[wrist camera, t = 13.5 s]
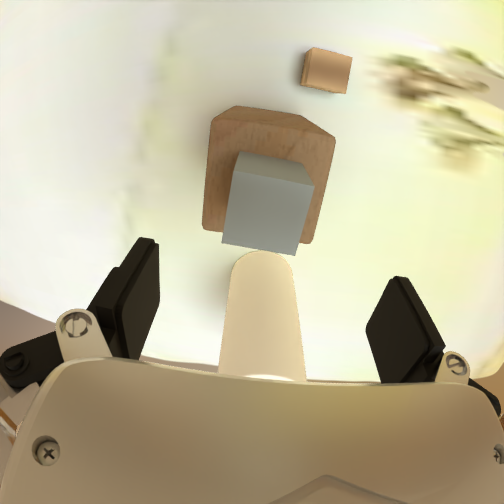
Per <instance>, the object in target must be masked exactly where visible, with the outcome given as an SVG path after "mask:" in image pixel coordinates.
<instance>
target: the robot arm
mask: <svg viewBox="0 0 504 504" xmlns="http://www.w3.org/2000/svg"><path fill="white" fill-rule="evenodd" d="M159 302H160V283H159V244H157V243H155V241H154V239H150V238H143V237H139V238H138V240H137V241H136V243H135V244H134V245H133V247H132V248H131V250H130V251H129V253H128V254H127V256H126V257H125V259H124V260H123V262H122V264H121V265H120V267H114V268H113V269H112V270H111V272H110V273H109V275H108V276H107V278H106V279H105V281H104V282H103V284H102V285H101V287H100V289H99V290H98V292H97V293H96V295H95V296H94V298H93V300H92V301H91V303H90V305H89V306H88V308H87V309H86V310H85V309H71V310H69V311H66V312H65V313H63V314H62V315H60V317H59V318H58V319H57V321H56V325H55V330H56V331H54V332H51V333H48V334H46V335H43V336H40V337H37V338H35V339H32V340H29V341H26V342H24V343H21V344H18V345H16V346H13V347H11V348H9V349H7V350H6V351H5V352H4V353H3V354H2V356H1V357H0V504H504V414H502V415H500V413H501V406H500V403H499V400H498V399H497V397H496V396H494V395H493V394H492V393H490V392H489V391H487V390H486V389H484V388H483V387H482V386H480V385H479V384H477V383H476V382H475V381H473V380H472V379H470V378H469V375H470V367H469V364H468V363H467V361H466V360H465V359H464V357H462V356H461V355H460V354H458V353H456V352H452V351H449V352H446V353H445V354H444V353H443V349H444V348H445V347H446V345H445V343H444V341H443V339H442V338H441V336H440V334H439V332H438V330H437V328H436V326H435V324H434V322H433V320H432V319H431V317H430V315H429V313H428V311H427V310H426V308H425V306H424V304H423V302H422V301H421V299H420V297H419V296H418V294H417V292H416V290H415V289H414V287H413V285H412V284H411V282H410V280H409V279H408V278H406V277H400V276H394V277H393V279H390V280H389V282H388V284H387V286H386V288H385V290H384V292H383V294H382V296H381V298H380V300H379V302H378V304H377V306H376V308H375V310H374V312H373V314H372V316H371V318H370V320H369V321H368V323H367V325H366V335H367V338H368V341H369V344H370V347H371V351H372V354H373V357H374V360H375V363H376V367H377V370H378V373H379V377H380V380H381V384H349V383H348V384H347V383H316V382H299V381H285V380H273V379H262V378H252V377H243V376H235V375H227V374H219V373H212V372H205V371H199V370H193V369H186V368H180V367H173V366H168V365H162V364H157V363H151V362H145V361H139V357H140V355H141V352H142V349H143V346H144V344H145V341H146V338H147V336H148V333H149V330H150V328H151V325H152V322H153V320H154V317H155V314H156V312H157V309H158V307H159ZM21 421H23V422H22V424H21V426H20V429H19V431H18V434H17V437H16V429H17V426H18V425H19V424H20V423H21ZM52 448H53V449H54V450H52Z"/></svg>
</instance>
